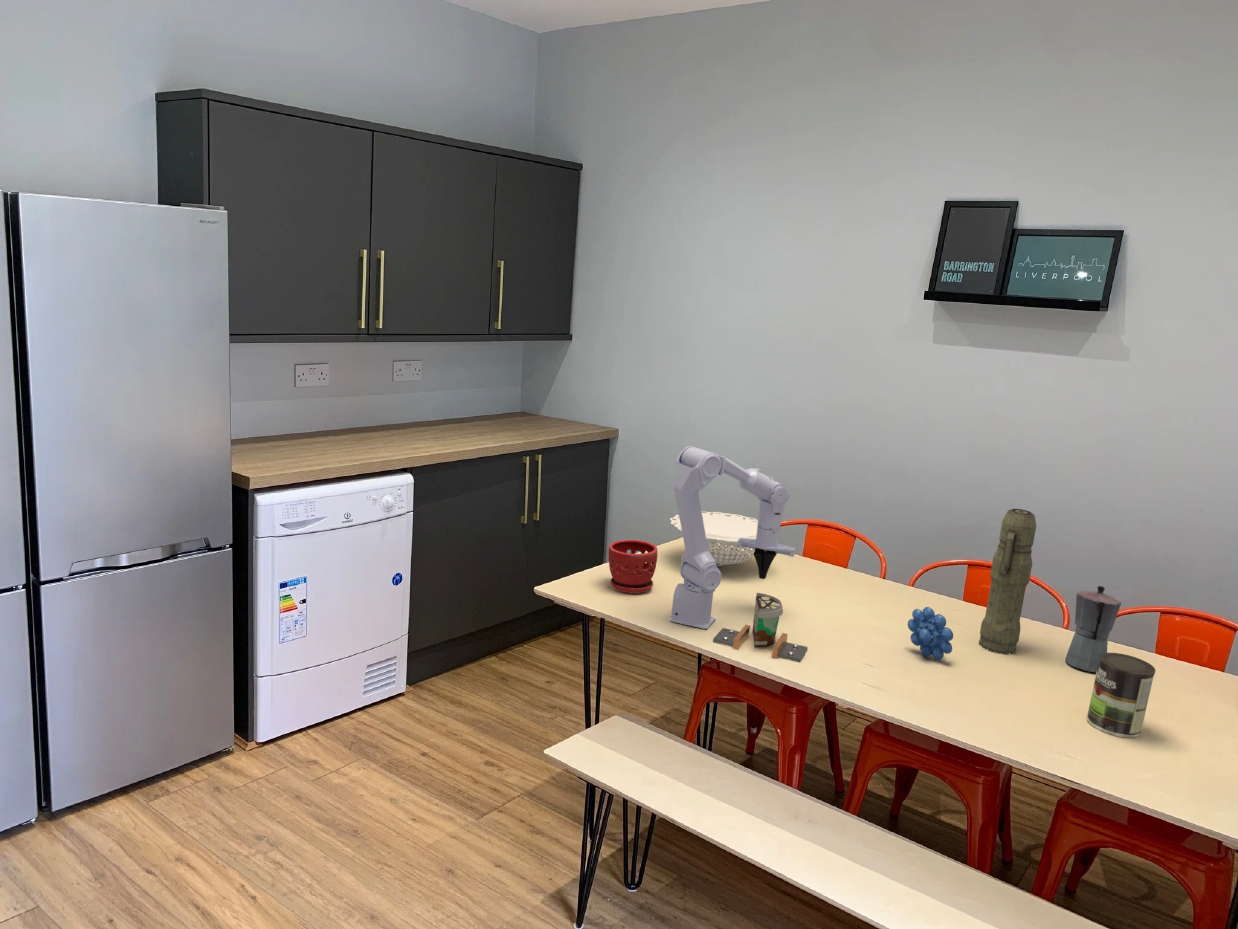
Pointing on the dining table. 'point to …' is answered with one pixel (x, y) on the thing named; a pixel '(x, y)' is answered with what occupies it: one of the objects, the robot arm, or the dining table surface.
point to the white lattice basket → (726, 535)
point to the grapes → (930, 633)
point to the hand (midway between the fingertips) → (762, 577)
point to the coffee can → (1120, 694)
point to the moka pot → (1092, 628)
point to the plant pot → (632, 565)
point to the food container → (766, 620)
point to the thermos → (1008, 582)
